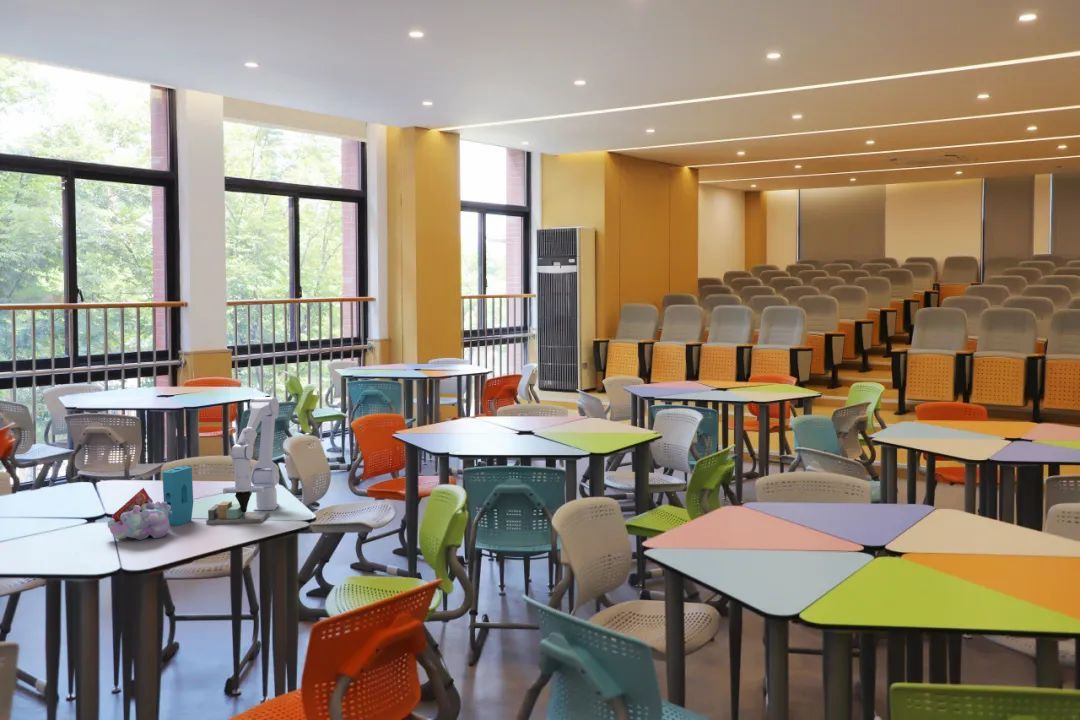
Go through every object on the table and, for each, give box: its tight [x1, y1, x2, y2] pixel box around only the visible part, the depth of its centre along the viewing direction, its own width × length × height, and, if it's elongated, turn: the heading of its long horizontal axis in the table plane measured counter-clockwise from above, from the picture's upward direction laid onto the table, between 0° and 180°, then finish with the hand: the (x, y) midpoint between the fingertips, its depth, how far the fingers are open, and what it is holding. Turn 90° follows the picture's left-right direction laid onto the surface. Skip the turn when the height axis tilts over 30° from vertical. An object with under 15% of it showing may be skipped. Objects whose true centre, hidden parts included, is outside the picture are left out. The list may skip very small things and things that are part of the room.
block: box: [162, 466, 194, 527], centre depth 343 cm, size 12×5×20 cm, turn 167°
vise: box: [205, 503, 270, 525], centre depth 347 cm, size 12×20×5 cm, turn 93°
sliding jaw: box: [226, 503, 245, 519], centre depth 347 cm, size 10×4×3 cm, turn 3°
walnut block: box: [218, 500, 233, 518], centre depth 346 cm, size 6×4×5 cm, turn 3°
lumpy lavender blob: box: [107, 487, 172, 541], centre depth 323 cm, size 20×22×18 cm
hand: (244, 511), depth 347 cm, fingers closed
